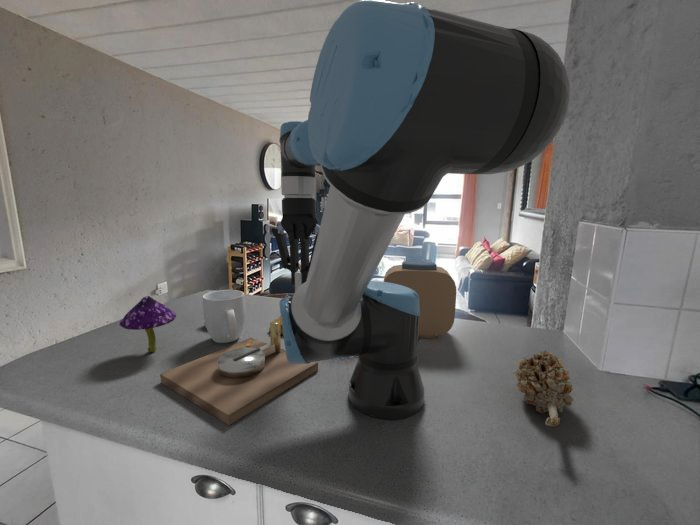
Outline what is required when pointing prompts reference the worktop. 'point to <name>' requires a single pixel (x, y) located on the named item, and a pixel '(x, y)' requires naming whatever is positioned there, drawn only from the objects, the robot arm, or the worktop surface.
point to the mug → (224, 314)
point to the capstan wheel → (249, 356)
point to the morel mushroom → (545, 384)
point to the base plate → (235, 382)
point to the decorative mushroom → (148, 318)
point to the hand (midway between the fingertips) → (300, 298)
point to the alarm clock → (428, 294)
